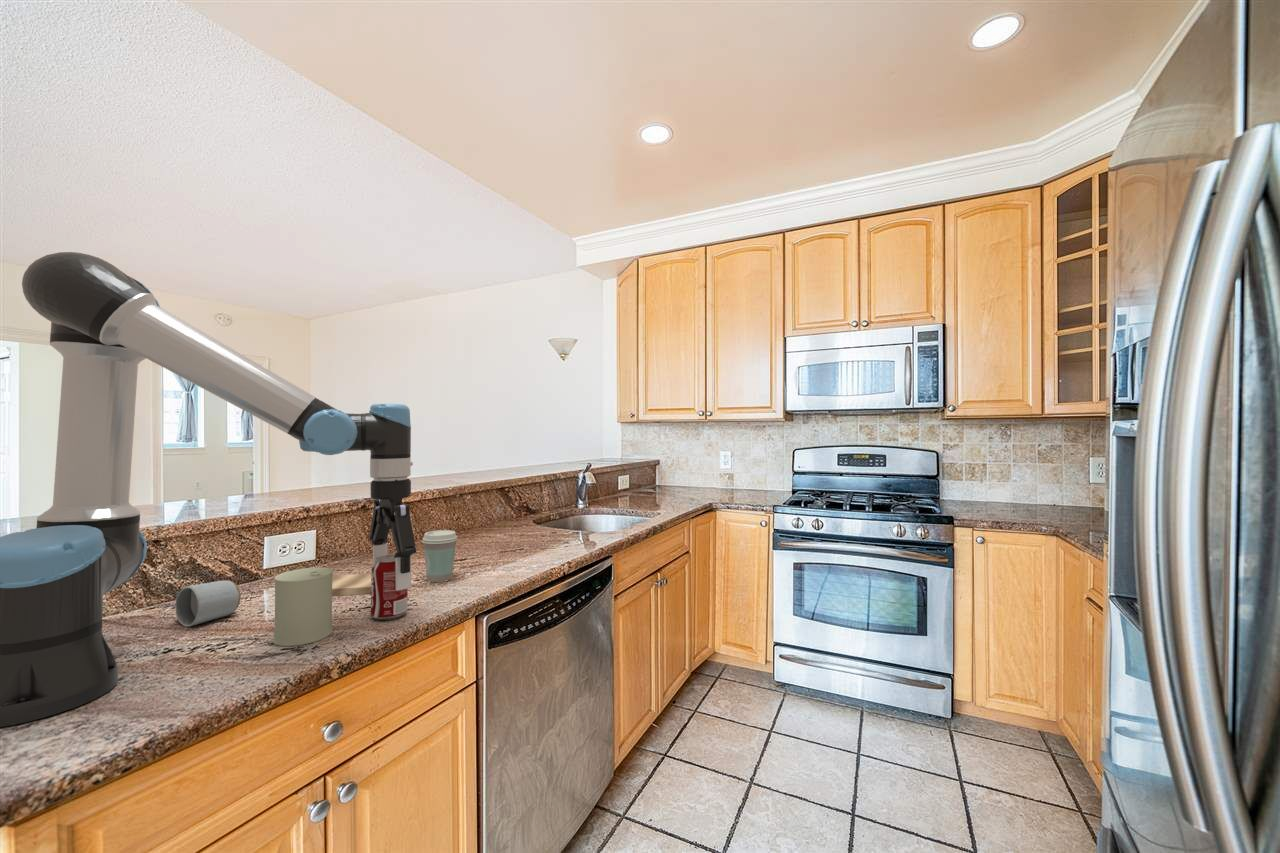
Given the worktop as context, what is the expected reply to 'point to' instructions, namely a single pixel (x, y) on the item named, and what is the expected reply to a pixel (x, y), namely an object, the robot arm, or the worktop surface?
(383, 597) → the soda can
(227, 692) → the worktop surface
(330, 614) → the can
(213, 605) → the grey hollow cylinder
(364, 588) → the cutting board
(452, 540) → the coffee cup
